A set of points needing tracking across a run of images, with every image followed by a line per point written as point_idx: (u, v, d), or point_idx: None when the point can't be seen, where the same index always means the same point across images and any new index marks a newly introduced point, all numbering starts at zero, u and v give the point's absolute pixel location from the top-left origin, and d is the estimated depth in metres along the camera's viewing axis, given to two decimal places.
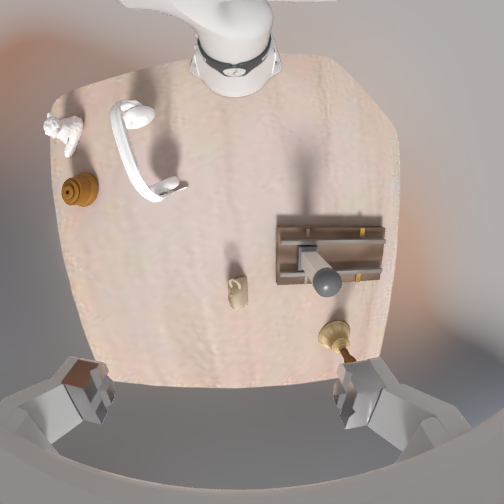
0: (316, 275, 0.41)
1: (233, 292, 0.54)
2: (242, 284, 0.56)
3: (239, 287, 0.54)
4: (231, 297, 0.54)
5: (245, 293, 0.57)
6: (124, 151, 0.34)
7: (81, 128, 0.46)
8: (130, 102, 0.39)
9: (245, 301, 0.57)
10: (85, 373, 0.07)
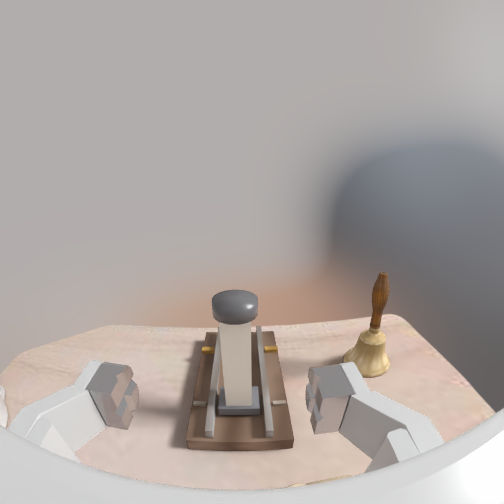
0: (221, 315, 0.24)
1: None
2: None
3: None
4: None
5: None
6: None
7: None
8: None
9: None
10: (111, 378, 0.07)
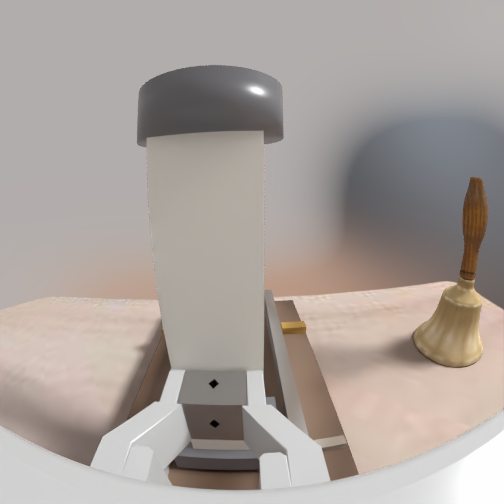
0: (154, 105, 0.06)
1: None
2: None
3: None
4: None
5: None
6: None
7: None
8: None
9: None
10: (203, 387, 0.07)
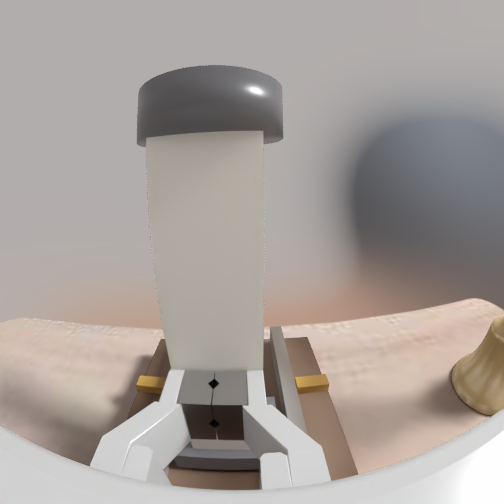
0: (153, 105, 0.06)
1: None
2: None
3: None
4: None
5: None
6: None
7: None
8: None
9: None
10: (203, 387, 0.07)
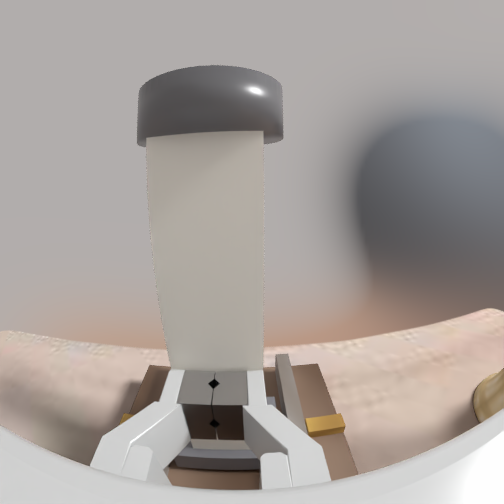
0: (154, 106, 0.06)
1: None
2: None
3: None
4: None
5: None
6: None
7: None
8: None
9: None
10: (203, 387, 0.07)
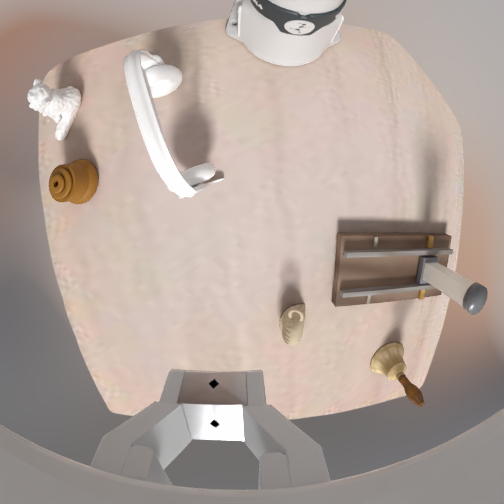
0: (470, 292, 0.28)
1: (293, 325, 0.41)
2: None
3: (301, 319, 0.41)
4: (289, 331, 0.41)
5: (303, 325, 0.44)
6: (144, 114, 0.20)
7: (78, 102, 0.33)
8: (151, 57, 0.25)
9: (301, 335, 0.44)
10: (203, 387, 0.07)
